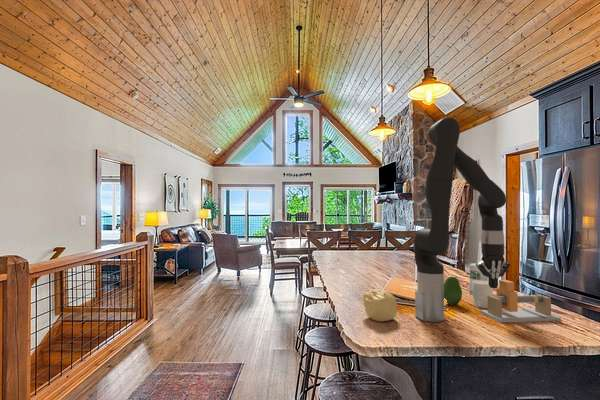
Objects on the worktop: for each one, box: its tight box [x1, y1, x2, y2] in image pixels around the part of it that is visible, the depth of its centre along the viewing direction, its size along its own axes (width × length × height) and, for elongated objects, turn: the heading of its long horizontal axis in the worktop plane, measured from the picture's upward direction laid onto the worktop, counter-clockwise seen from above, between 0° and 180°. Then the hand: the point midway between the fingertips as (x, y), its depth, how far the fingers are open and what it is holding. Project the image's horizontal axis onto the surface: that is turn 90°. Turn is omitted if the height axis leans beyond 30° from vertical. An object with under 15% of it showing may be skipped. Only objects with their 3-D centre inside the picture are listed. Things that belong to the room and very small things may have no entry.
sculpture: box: [362, 288, 398, 322], centre depth 121 cm, size 11×12×11 cm
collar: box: [496, 279, 519, 312], centre depth 124 cm, size 3×7×10 cm, turn 6°
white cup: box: [472, 280, 494, 309], centre depth 138 cm, size 8×8×10 cm
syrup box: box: [468, 262, 489, 295], centre depth 156 cm, size 6×6×14 cm
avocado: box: [444, 276, 463, 306], centre depth 140 cm, size 8×8×12 cm
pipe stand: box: [479, 293, 562, 323], centre depth 124 cm, size 24×11×8 cm, turn 96°
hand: (493, 287), depth 124 cm, fingers closed
